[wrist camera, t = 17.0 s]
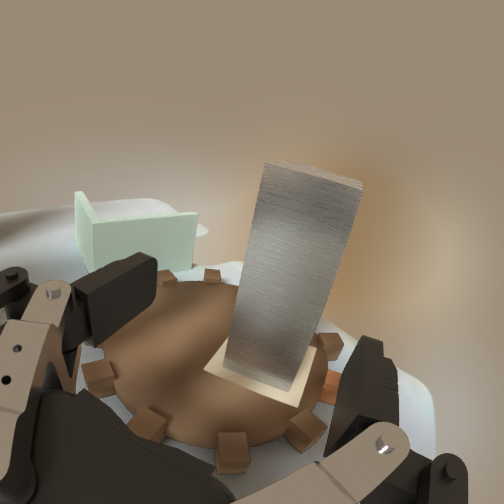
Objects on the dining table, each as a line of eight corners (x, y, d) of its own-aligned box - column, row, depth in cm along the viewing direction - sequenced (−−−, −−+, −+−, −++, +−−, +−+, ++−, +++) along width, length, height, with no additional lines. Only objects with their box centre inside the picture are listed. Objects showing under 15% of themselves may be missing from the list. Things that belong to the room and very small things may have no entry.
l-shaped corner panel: (190, 273, 35) (198, 214, 32) (95, 291, 27) (92, 224, 24) (151, 235, 43) (155, 187, 40) (75, 245, 35) (74, 191, 32)
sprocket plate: (31, 362, 16) (24, 343, 15) (177, 264, 35) (178, 249, 34) (309, 520, 11) (323, 511, 10) (351, 328, 30) (358, 313, 29)
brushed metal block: (222, 366, 20) (264, 162, 14) (247, 330, 24) (287, 160, 19) (288, 392, 19) (362, 190, 13) (303, 350, 23) (361, 181, 17)
